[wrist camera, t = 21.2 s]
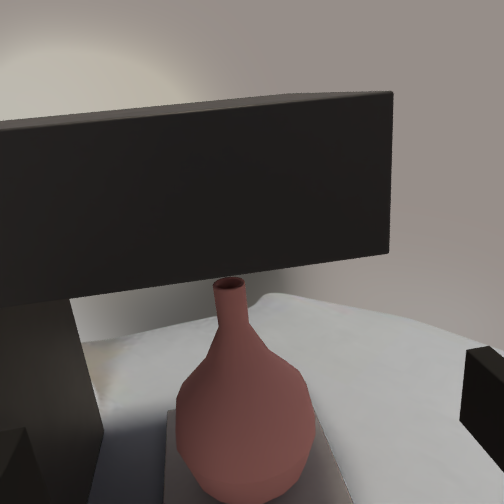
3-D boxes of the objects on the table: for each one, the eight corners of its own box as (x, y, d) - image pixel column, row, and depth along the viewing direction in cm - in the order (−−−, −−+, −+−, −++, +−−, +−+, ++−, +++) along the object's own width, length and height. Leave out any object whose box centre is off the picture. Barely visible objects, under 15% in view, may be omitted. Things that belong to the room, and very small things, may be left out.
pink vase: (206, 562, 20) (165, 345, 16) (170, 449, 27) (135, 275, 23) (345, 496, 23) (342, 293, 18) (281, 408, 29) (268, 244, 25)
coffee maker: (311, 394, 32) (297, 92, 24) (390, 577, 20) (411, 89, 12) (75, 435, 30) (-18, 122, 22) (1, 666, 18) (-254, 153, 10)
